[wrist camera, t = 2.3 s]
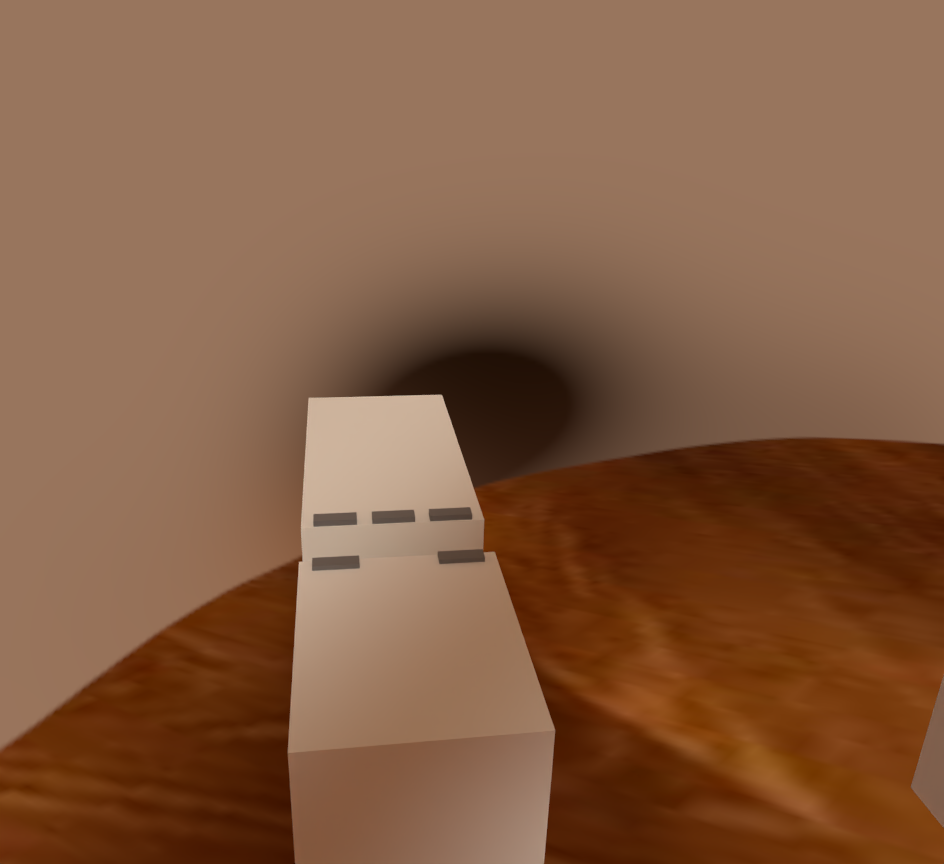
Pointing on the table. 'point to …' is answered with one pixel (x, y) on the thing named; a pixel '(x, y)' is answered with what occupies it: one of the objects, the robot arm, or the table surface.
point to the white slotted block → (385, 480)
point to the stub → (415, 715)
